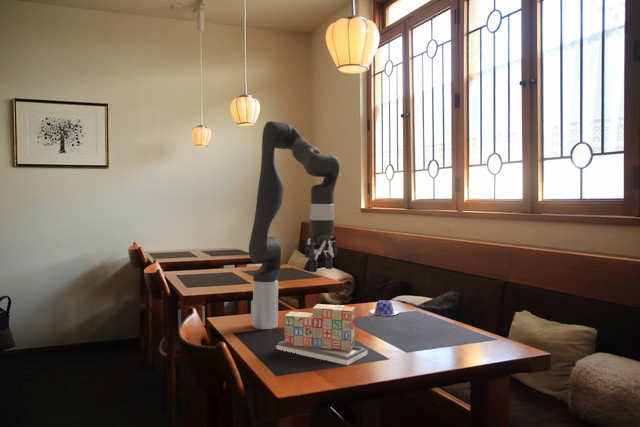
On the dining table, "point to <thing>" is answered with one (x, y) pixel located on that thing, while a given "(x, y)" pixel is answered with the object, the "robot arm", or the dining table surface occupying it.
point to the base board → (326, 353)
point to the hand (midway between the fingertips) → (321, 270)
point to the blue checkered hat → (384, 308)
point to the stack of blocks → (321, 327)
